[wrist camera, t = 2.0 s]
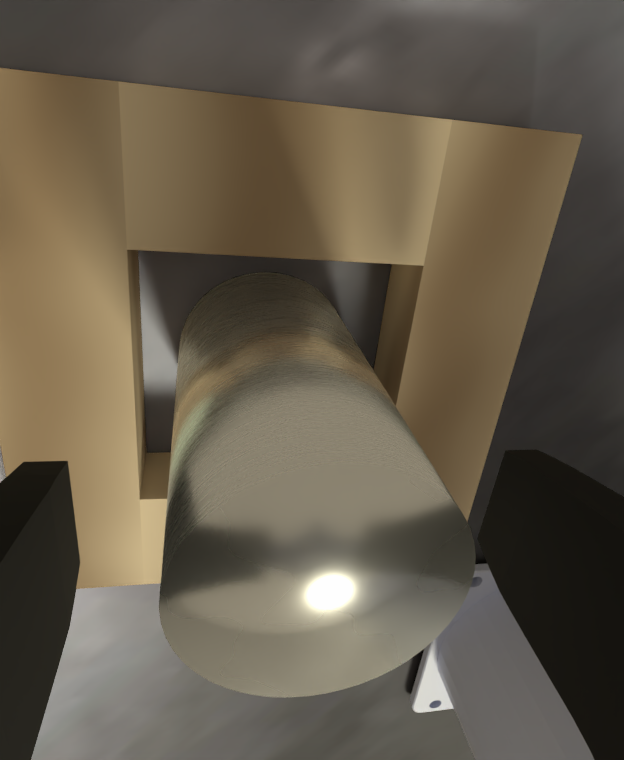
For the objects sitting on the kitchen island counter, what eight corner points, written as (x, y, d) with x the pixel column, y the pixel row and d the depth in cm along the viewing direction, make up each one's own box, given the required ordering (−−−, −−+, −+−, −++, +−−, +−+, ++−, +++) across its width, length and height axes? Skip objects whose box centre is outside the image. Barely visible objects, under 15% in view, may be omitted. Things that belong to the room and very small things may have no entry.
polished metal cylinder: (355, 276, 14) (511, 461, 7) (334, 422, 16) (439, 680, 9) (178, 267, 13) (154, 469, 6) (179, 424, 15) (162, 712, 8)
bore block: (531, 128, 13) (582, 134, 11) (430, 518, 18) (455, 563, 17) (-27, 64, 10) (-72, 59, 9) (46, 537, 16) (27, 591, 14)
